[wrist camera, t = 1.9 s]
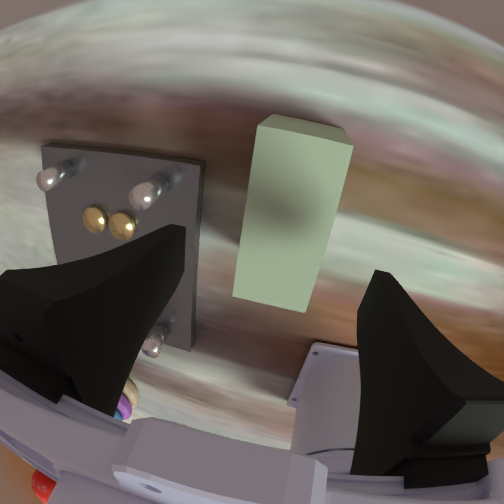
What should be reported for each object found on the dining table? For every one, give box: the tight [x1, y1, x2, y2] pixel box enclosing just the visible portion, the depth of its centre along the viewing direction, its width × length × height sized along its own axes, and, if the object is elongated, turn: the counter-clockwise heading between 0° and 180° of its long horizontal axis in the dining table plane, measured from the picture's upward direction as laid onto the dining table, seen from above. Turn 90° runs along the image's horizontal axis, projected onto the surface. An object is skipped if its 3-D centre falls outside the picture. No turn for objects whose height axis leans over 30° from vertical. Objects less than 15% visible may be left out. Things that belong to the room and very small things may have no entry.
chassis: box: [36, 143, 206, 358], centre depth 22 cm, size 16×13×4 cm
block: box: [232, 114, 353, 313], centre depth 17 cm, size 9×4×5 cm, turn 172°
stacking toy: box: [32, 379, 139, 504], centre depth 27 cm, size 8×8×19 cm
